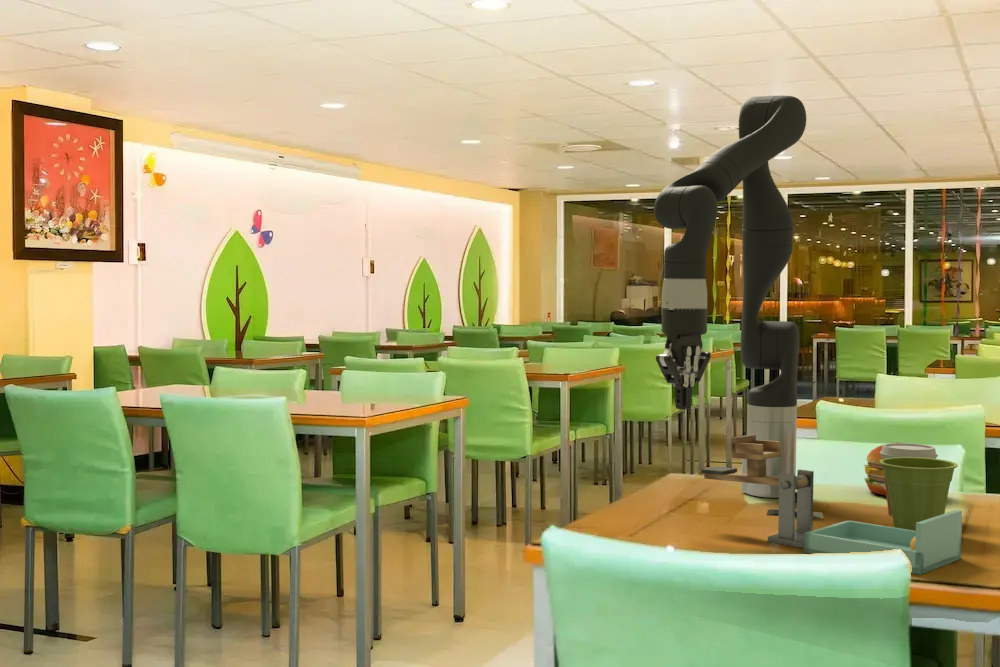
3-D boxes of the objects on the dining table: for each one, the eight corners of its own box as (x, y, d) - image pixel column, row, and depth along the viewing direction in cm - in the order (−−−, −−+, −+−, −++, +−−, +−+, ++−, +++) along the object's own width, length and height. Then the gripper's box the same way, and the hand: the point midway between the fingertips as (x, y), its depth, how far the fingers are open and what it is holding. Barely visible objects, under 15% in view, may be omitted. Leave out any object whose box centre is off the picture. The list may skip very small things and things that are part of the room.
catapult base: (828, 540, 170) (830, 472, 170) (802, 548, 165) (804, 478, 164) (794, 534, 175) (795, 467, 174) (767, 541, 169) (768, 473, 169)
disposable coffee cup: (941, 521, 186) (943, 451, 185) (882, 518, 188) (883, 449, 187) (931, 510, 195) (932, 443, 195) (875, 508, 197) (876, 442, 197)
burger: (851, 494, 211) (852, 443, 211) (879, 486, 222) (880, 436, 221) (922, 503, 202) (923, 449, 202) (947, 494, 213) (948, 443, 212)
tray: (803, 553, 162) (804, 505, 161) (847, 539, 171) (848, 494, 171) (920, 574, 149) (921, 523, 149) (960, 558, 159) (962, 510, 159)
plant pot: (876, 521, 185) (878, 455, 185) (952, 526, 182) (953, 458, 182) (879, 535, 174) (881, 465, 174) (960, 541, 171) (961, 469, 170)
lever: (812, 487, 171) (811, 438, 171) (792, 492, 167) (791, 441, 167) (719, 478, 183) (718, 432, 183) (698, 482, 179) (697, 435, 179)
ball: (917, 563, 155) (901, 545, 156) (926, 560, 157) (911, 542, 159) (933, 550, 153) (917, 532, 155) (942, 546, 156) (927, 528, 157)
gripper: (689, 305, 191) (687, 404, 192) (642, 306, 182) (641, 410, 182) (725, 306, 186) (724, 407, 186) (679, 307, 176) (678, 414, 177)
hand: (683, 408), depth 184 cm, fingers closed
